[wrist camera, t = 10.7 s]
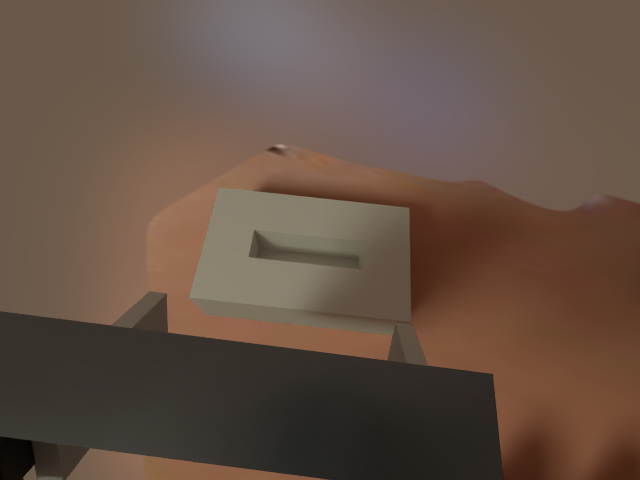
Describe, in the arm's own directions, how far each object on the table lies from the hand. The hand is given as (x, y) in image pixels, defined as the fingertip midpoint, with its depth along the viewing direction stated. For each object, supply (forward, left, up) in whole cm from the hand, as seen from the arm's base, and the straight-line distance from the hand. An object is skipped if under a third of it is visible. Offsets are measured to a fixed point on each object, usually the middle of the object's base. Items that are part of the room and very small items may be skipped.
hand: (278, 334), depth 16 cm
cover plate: (-1, +3, -7) cm, 8 cm away
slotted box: (+6, -10, -21) cm, 24 cm away
